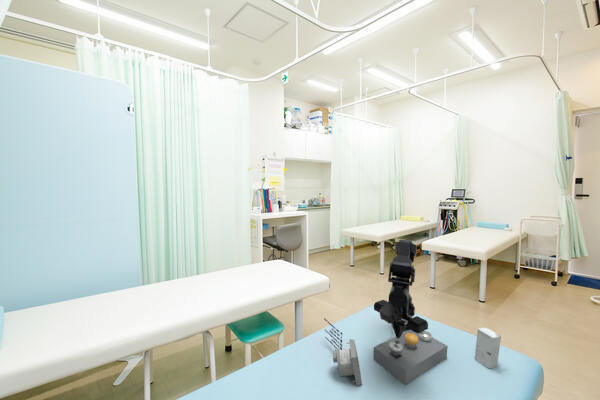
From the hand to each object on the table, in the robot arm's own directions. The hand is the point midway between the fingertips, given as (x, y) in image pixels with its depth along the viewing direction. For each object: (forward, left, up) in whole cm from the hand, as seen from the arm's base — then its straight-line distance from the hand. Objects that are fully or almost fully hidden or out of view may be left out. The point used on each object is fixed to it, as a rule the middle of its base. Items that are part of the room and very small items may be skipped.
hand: (397, 337), depth 93 cm
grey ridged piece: (-13, -15, -12) cm, 23 cm away
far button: (0, +17, -9) cm, 20 cm away
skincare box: (+16, +31, -12) cm, 37 cm away
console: (0, +8, -11) cm, 14 cm away
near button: (0, -1, -7) cm, 7 cm away
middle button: (0, +8, -7) cm, 11 cm away
